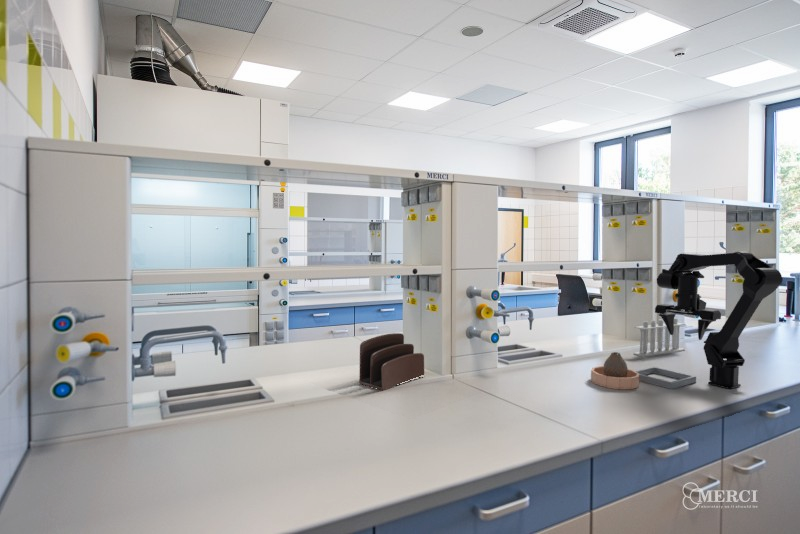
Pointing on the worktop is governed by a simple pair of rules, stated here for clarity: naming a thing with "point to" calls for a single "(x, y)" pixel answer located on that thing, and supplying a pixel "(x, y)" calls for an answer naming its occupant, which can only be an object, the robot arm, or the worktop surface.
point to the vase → (615, 366)
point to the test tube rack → (659, 349)
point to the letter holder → (388, 361)
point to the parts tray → (684, 378)
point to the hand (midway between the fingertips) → (685, 337)
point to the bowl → (615, 379)
